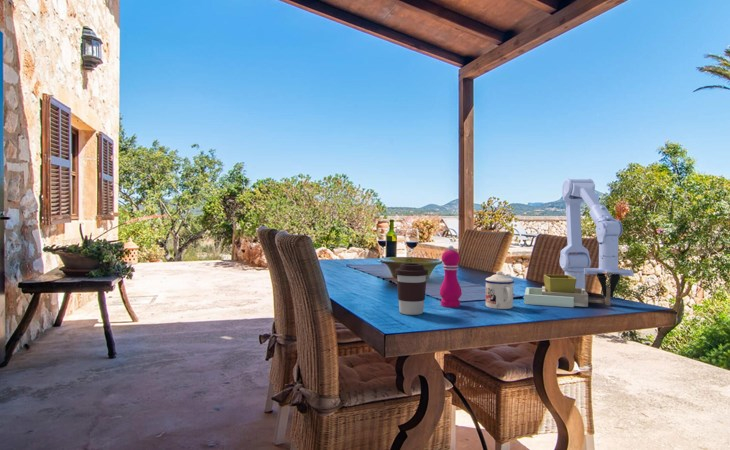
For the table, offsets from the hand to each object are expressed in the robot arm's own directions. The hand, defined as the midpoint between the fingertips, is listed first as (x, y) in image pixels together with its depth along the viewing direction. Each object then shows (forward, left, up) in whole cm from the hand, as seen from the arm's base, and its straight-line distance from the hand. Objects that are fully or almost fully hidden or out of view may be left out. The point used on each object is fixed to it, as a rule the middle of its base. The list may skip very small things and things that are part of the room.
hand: (607, 296), depth 153 cm
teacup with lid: (+18, -33, -3) cm, 38 cm away
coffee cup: (+37, -58, -3) cm, 69 cm away
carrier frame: (0, -10, -3) cm, 10 cm away
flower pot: (+1, -15, -3) cm, 15 cm away
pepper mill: (+21, -49, -3) cm, 53 cm away
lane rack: (0, -19, -3) cm, 19 cm away
